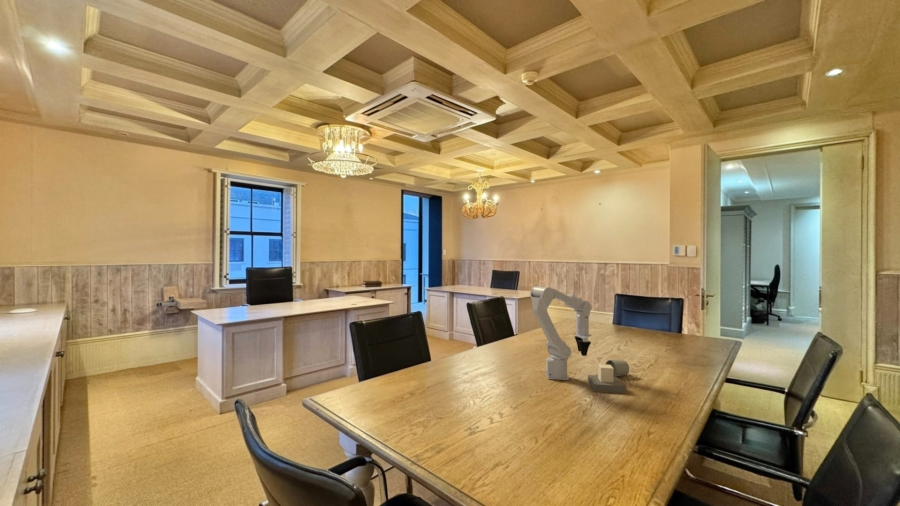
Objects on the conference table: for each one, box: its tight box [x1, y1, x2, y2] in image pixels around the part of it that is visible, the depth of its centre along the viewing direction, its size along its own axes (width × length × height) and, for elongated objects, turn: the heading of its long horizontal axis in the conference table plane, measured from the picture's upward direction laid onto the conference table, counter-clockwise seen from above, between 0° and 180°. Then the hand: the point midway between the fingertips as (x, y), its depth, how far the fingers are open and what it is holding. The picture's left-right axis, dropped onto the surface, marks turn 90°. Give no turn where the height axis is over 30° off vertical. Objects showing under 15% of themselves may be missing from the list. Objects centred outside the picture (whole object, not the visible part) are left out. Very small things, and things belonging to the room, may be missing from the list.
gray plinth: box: [587, 374, 626, 394], centre depth 157 cm, size 12×12×3 cm
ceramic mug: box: [605, 359, 630, 378], centre depth 174 cm, size 11×8×8 cm
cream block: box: [597, 363, 613, 382], centre depth 157 cm, size 5×5×6 cm
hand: (582, 353), depth 176 cm, fingers open, 7 cm apart
